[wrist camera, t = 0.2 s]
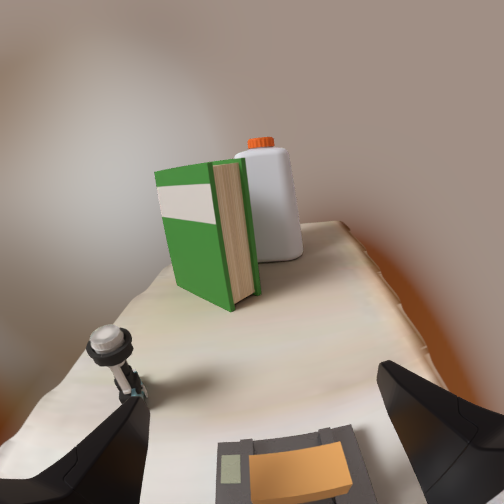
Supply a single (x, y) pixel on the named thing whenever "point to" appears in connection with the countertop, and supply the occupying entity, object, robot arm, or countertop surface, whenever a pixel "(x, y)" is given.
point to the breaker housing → (237, 453)
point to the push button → (116, 359)
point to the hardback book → (210, 230)
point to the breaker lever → (299, 476)
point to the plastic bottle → (272, 201)
